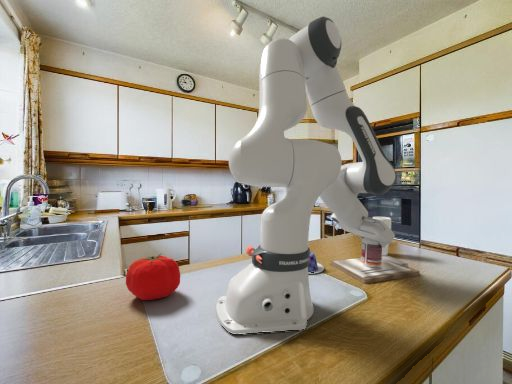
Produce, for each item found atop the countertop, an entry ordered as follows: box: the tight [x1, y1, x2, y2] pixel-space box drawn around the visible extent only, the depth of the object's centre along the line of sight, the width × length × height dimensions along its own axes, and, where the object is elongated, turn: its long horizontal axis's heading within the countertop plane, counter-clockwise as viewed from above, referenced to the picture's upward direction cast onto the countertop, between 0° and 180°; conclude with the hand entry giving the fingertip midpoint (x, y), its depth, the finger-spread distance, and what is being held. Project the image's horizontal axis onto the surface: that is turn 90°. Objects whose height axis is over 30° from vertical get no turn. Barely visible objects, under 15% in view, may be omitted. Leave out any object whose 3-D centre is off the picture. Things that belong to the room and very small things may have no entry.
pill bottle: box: [360, 237, 382, 268], centre depth 79 cm, size 6×6×11 cm
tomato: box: [125, 252, 181, 301], centre depth 59 cm, size 11×13×10 cm
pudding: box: [308, 251, 325, 275], centre depth 79 cm, size 12×12×5 cm
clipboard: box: [329, 255, 421, 284], centre depth 79 cm, size 22×16×2 cm
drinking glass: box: [372, 216, 392, 256], centre depth 95 cm, size 7×7×15 cm
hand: (374, 242), depth 79 cm, fingers closed on pill bottle, 6 cm apart
